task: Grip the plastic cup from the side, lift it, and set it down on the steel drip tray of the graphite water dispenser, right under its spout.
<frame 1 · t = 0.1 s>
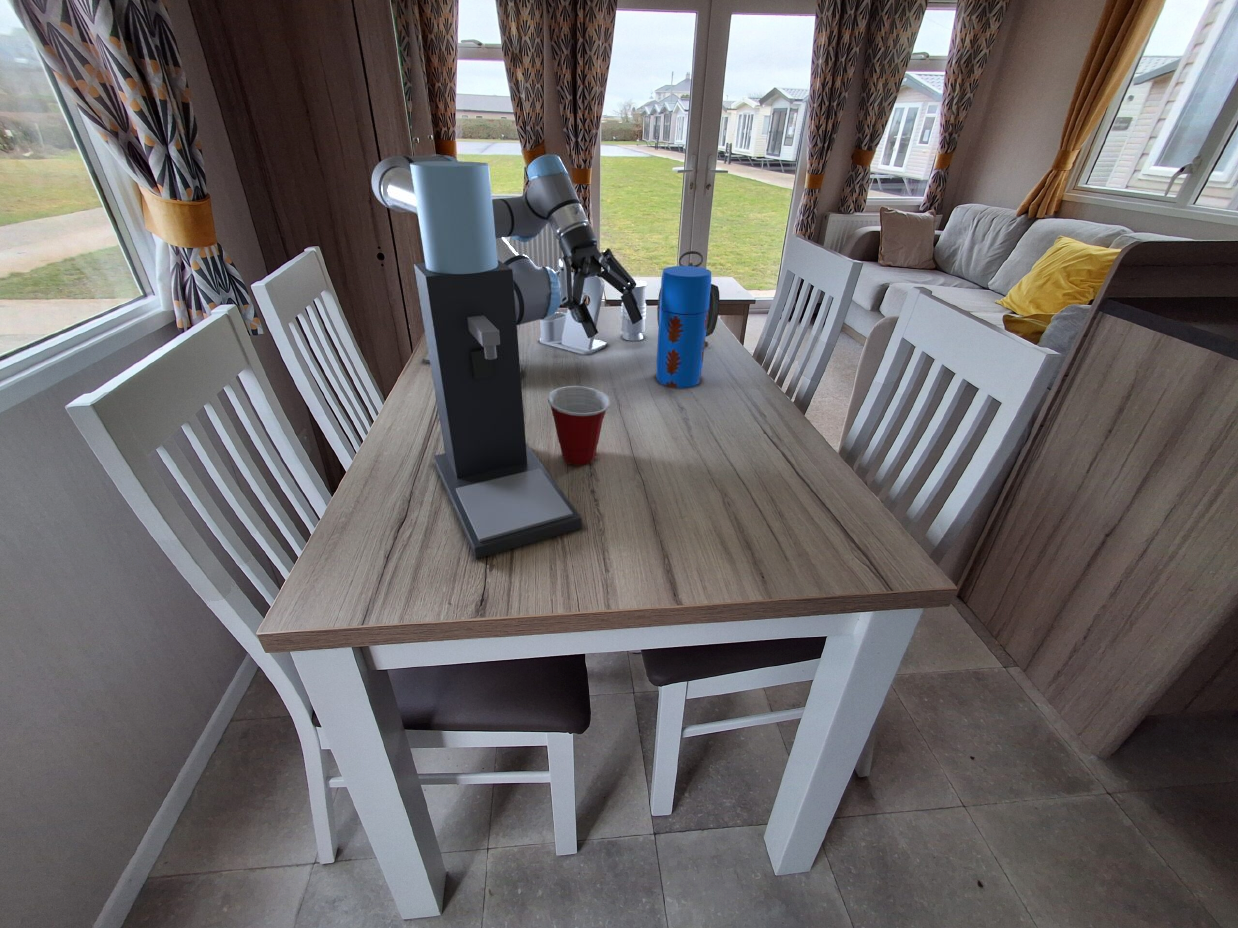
hand: (616, 328, 117), 15 cm above the table, tool tilted 35°, fingers open, 13 cm apart
phone holder: (572, 344, 154), on the table
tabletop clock: (683, 347, 153), on the table
silver ribbed cylinder: (632, 337, 159), on the table
water dispenser: (513, 513, 86), on the table
plastic cup: (580, 458, 101), on the table
thermos: (678, 379, 134), on the table
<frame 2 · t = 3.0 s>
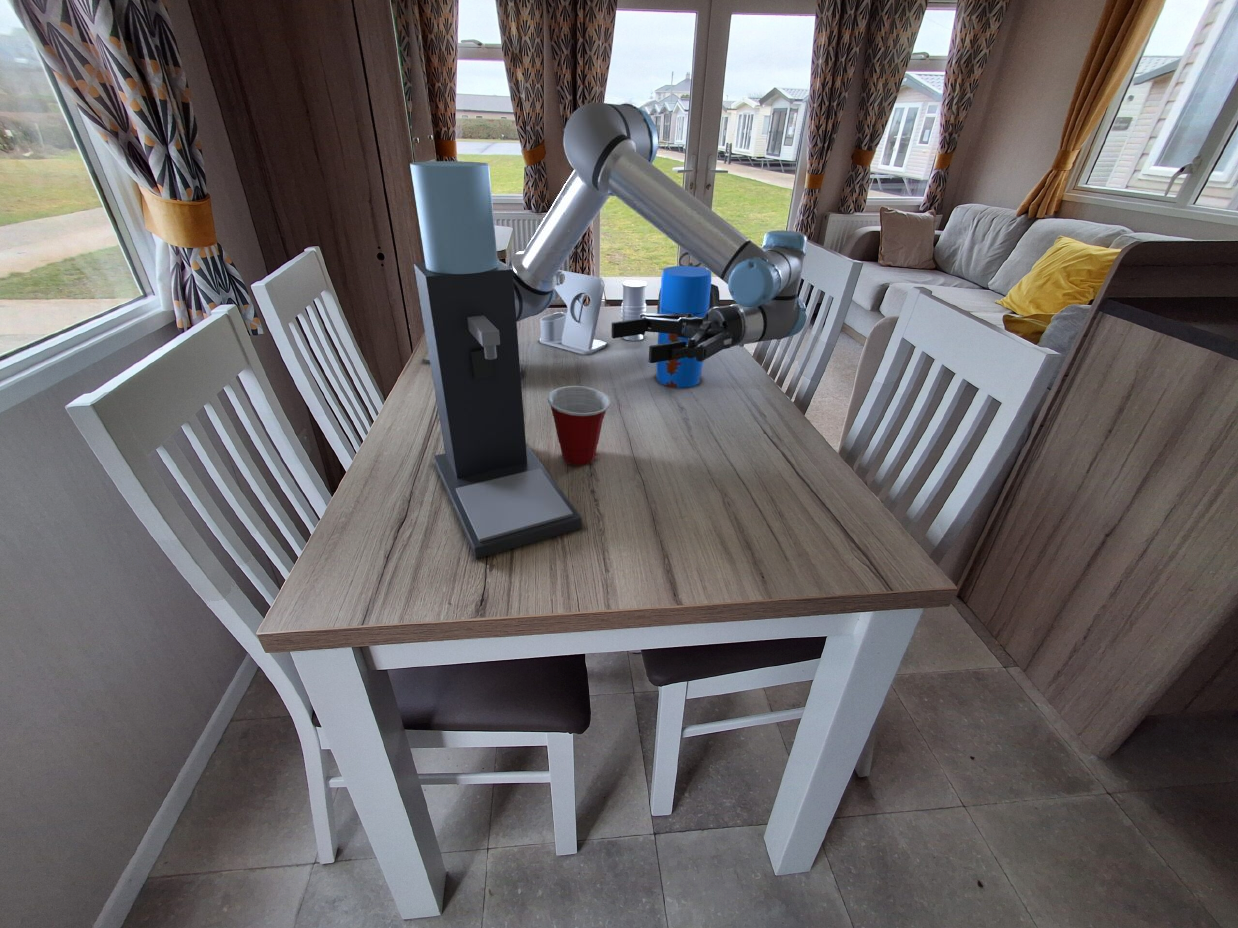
hand: (629, 342, 95), 20 cm above the table, tool horizontal, fingers open, 13 cm apart
nothing on the table moved.
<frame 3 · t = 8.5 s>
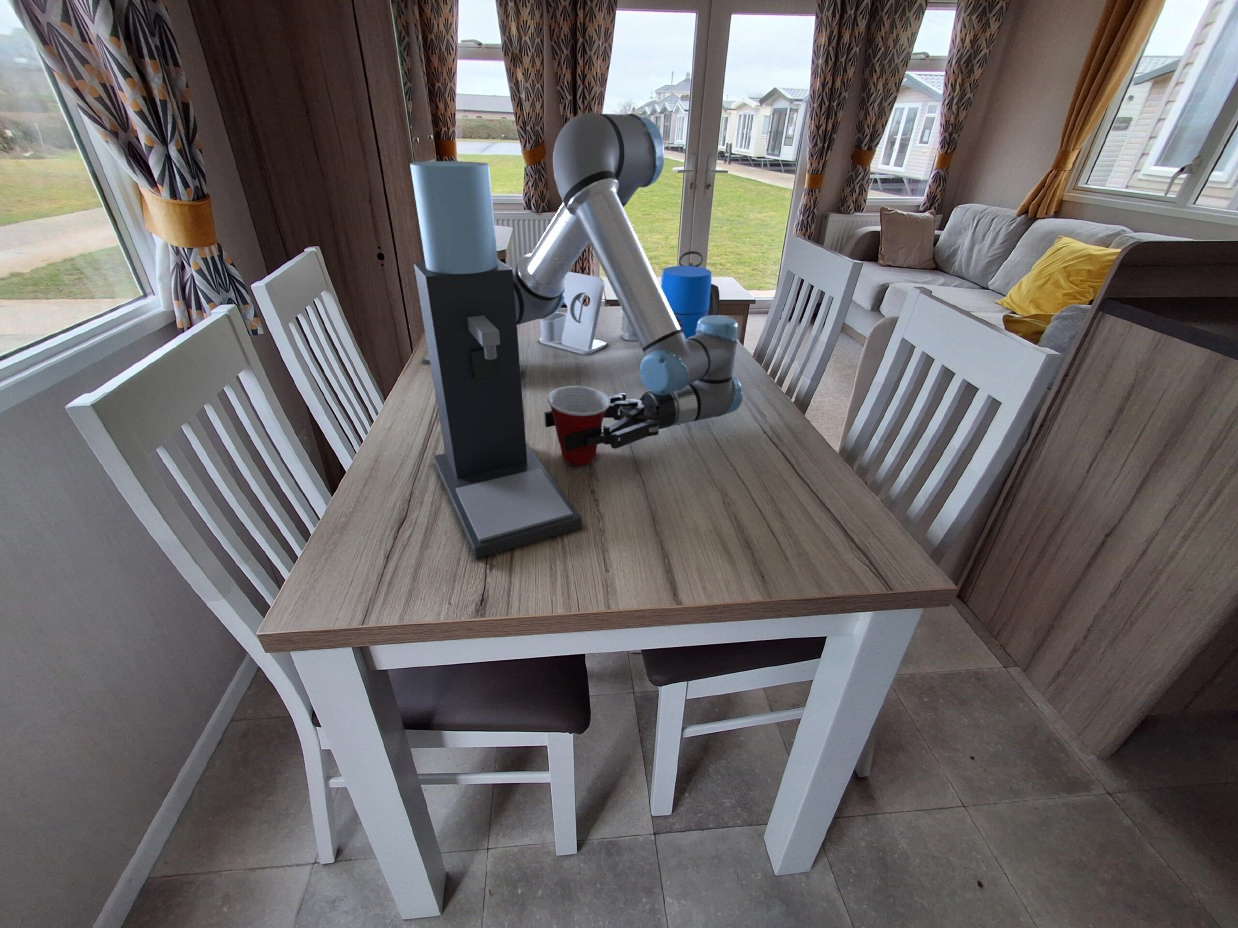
hand: (555, 431, 96), 6 cm above the table, tool horizontal, fingers closed on plastic cup, 9 cm apart
plastic cup: (580, 458, 101), on the table, touching gripper
everything else where it was.
when the fingers open (9 cm above the table, at t = 18.0 s): plastic cup stays where it is, resting on water dispenser.
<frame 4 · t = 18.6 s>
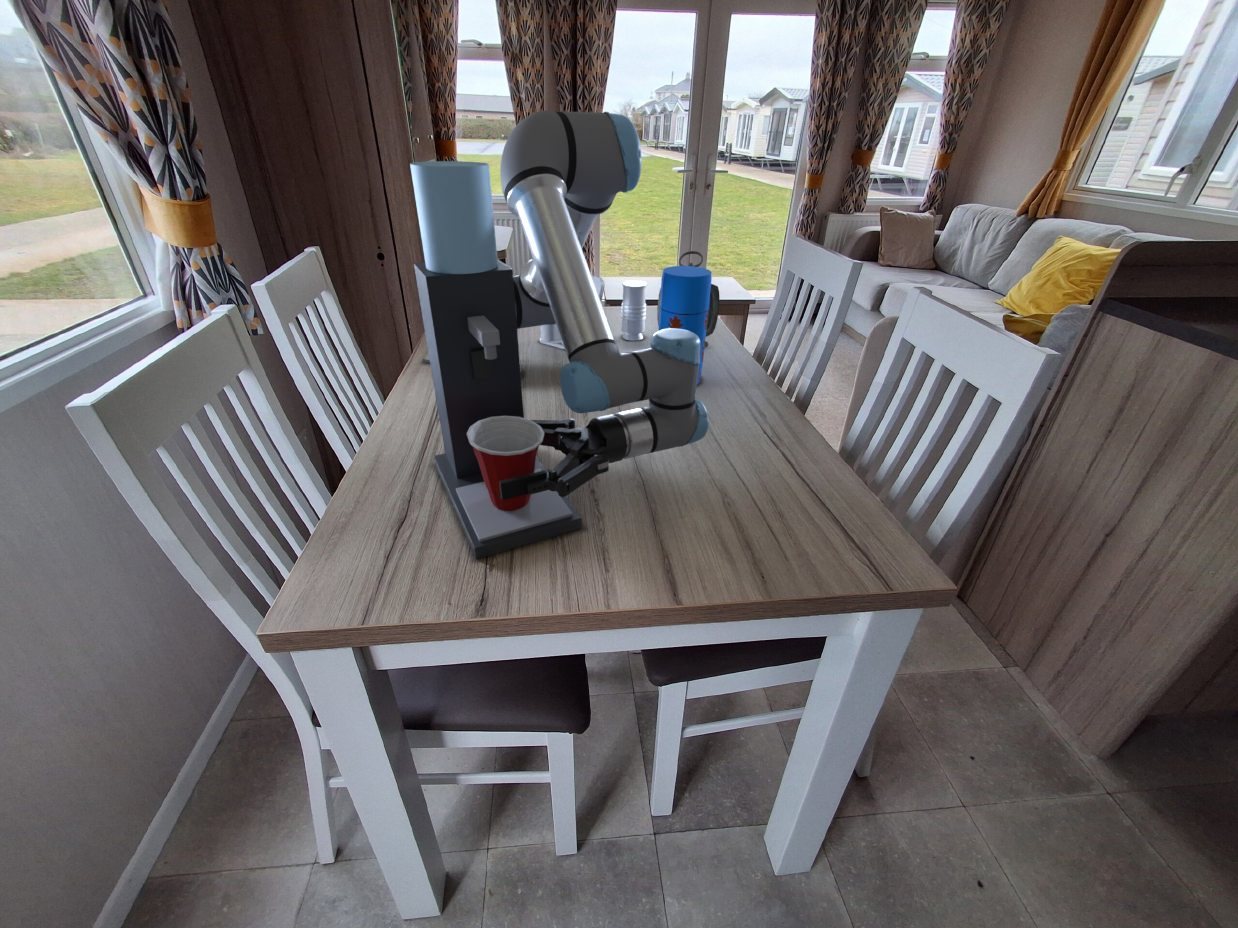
hand: (486, 466, 80), 9 cm above the table, tool horizontal, fingers open, 13 cm apart
plastic cup: (512, 501, 85), point 2 cm above the table, touching water dispenser
everything else where it was.
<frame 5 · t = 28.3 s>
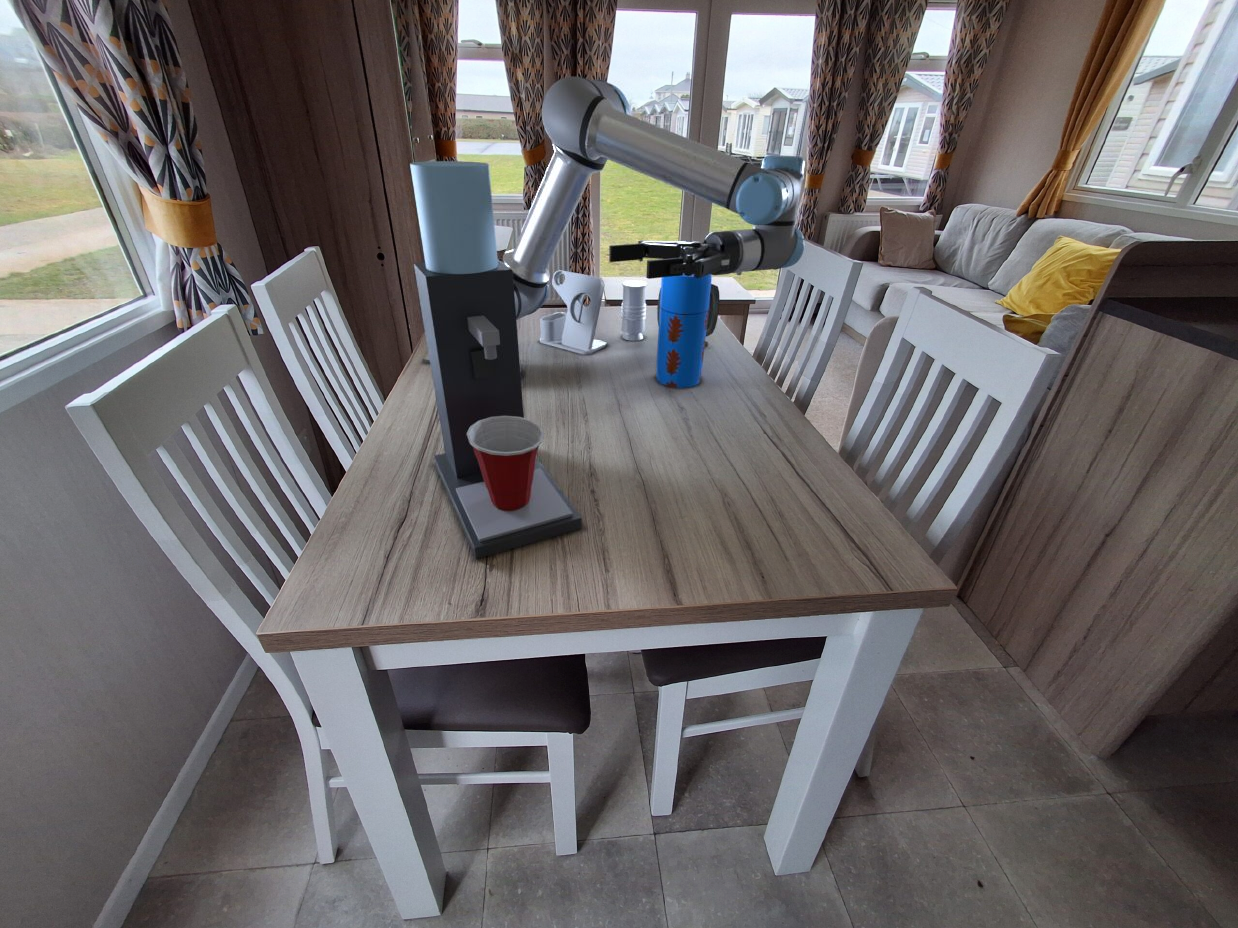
hand: (627, 261, 95), 32 cm above the table, tool horizontal, fingers open, 13 cm apart
nothing on the table moved.
at the end: plastic cup inside the target area on the water dispenser (0.0 cm from its centre), point 2.3 cm above the water dispenser's base; plastic cup tilted 0°; the gripper is holding nothing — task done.
